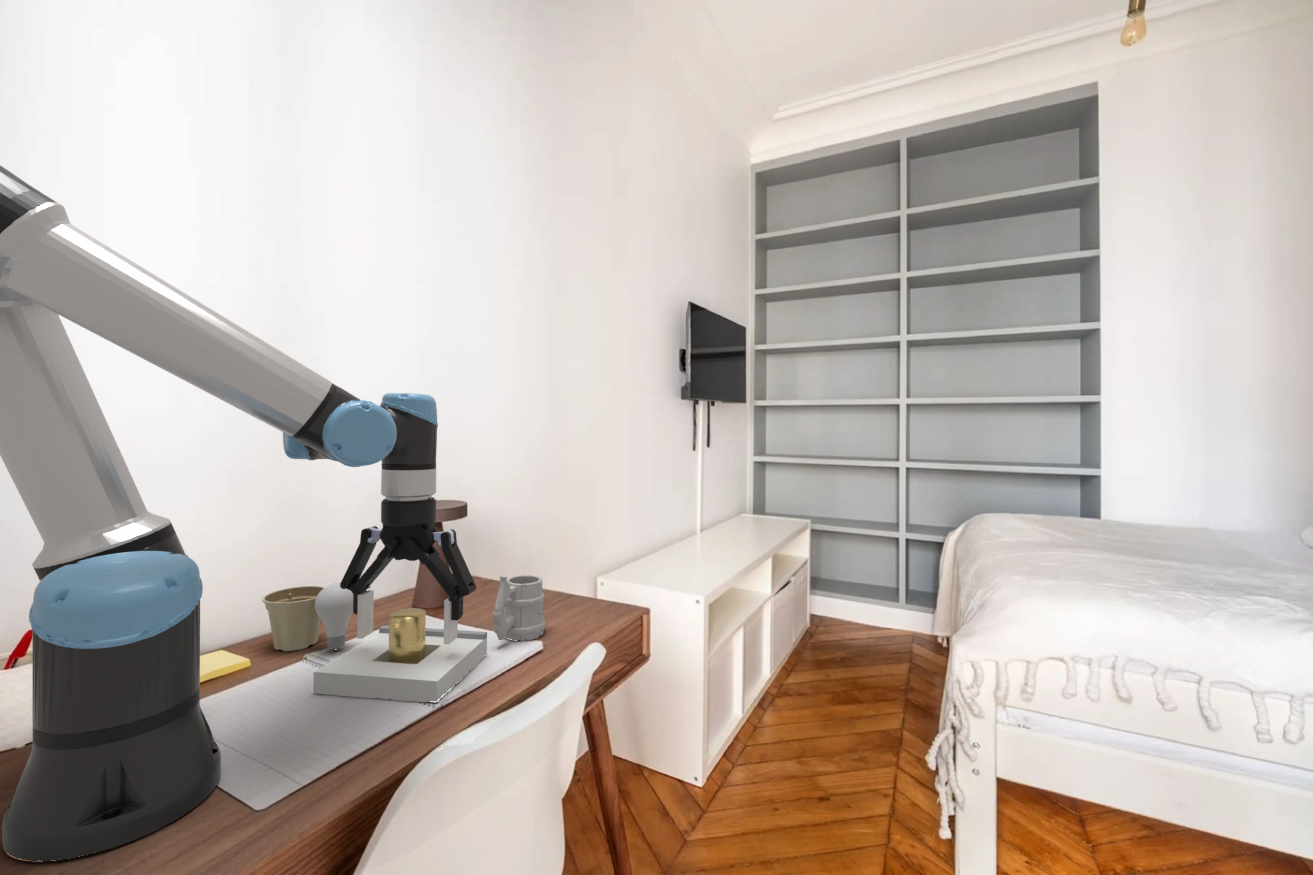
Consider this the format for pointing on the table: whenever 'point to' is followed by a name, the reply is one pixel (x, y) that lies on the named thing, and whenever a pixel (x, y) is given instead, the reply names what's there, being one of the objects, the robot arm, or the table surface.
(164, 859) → the table surface
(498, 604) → the mug
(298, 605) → the flower pot
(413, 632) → the gold cylinder
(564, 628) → the table surface
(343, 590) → the lightbulb
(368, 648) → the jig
